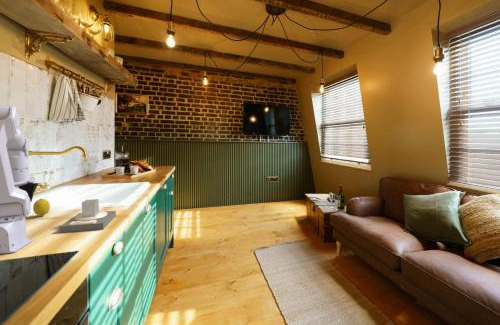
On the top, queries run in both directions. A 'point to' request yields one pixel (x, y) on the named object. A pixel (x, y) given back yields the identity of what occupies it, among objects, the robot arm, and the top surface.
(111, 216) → the scale
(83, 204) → the block
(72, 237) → the top surface
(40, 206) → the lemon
